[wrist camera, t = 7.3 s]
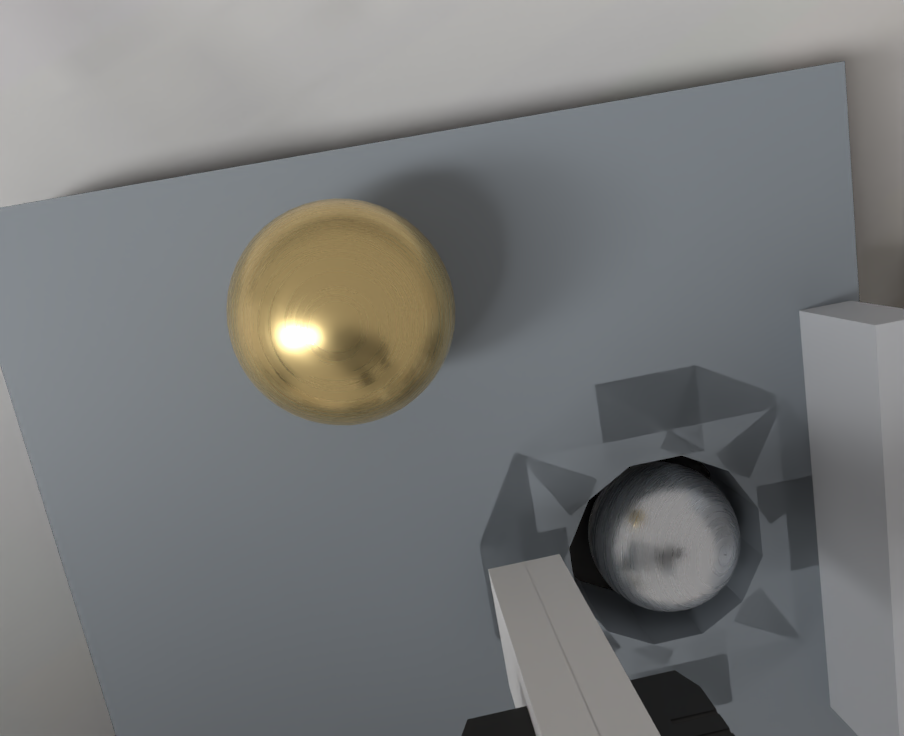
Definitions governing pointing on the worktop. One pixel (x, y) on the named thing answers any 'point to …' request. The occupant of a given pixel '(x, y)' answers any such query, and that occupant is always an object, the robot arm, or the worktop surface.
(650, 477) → the steel ball
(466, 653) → the board
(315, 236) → the brass ball
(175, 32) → the worktop surface
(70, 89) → the worktop surface
